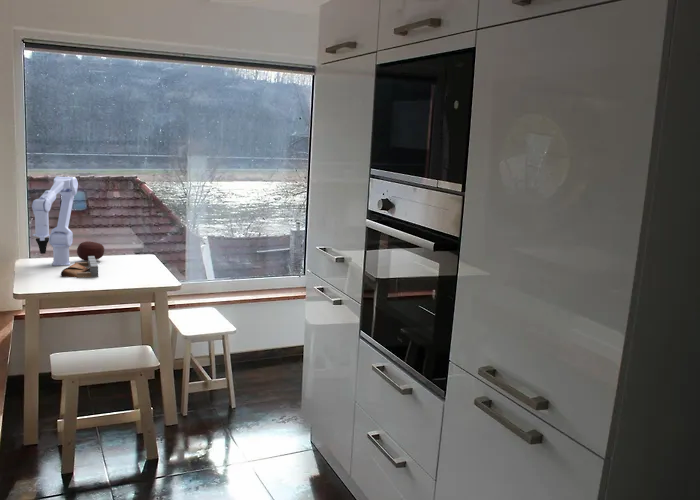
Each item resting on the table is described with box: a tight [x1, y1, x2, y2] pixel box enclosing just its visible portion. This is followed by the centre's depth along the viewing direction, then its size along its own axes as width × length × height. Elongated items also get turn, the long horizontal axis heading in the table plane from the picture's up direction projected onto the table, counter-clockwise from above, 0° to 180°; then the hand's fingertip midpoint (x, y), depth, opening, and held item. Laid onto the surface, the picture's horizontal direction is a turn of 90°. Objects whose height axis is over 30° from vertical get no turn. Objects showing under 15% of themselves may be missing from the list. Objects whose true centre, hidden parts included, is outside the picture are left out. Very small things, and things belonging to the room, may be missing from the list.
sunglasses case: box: [60, 262, 90, 278], centre depth 298 cm, size 18×7×7 cm
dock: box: [74, 256, 99, 279], centre depth 302 cm, size 27×9×5 cm, turn 25°
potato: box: [76, 240, 105, 262], centre depth 326 cm, size 11×13×10 cm
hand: (42, 253), depth 298 cm, fingers closed
